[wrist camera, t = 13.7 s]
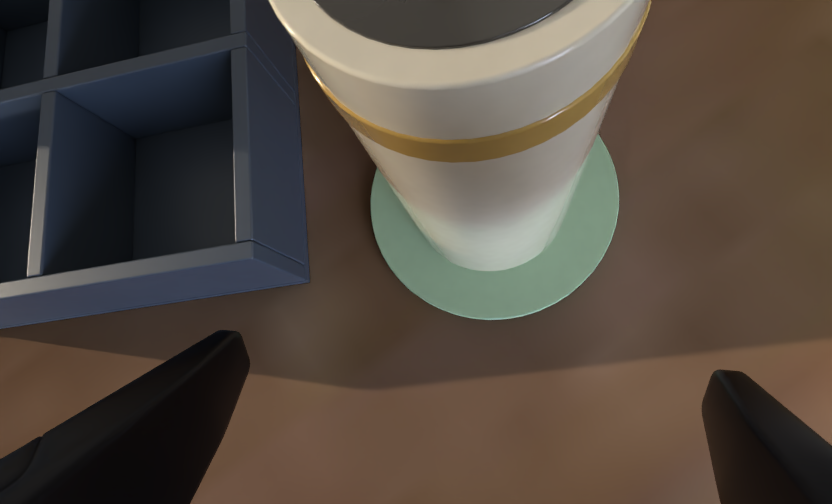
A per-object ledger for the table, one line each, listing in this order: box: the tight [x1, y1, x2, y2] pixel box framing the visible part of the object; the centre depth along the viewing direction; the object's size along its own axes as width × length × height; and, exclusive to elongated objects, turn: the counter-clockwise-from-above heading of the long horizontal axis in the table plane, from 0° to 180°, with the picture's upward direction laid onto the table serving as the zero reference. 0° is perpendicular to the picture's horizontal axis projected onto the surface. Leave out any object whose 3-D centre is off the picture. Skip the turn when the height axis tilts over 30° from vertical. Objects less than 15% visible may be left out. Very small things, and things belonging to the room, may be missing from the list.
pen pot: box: [268, 0, 652, 271], centre depth 12 cm, size 6×6×12 cm
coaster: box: [371, 135, 619, 320], centre depth 18 cm, size 9×9×1 cm
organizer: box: [0, 0, 310, 329], centre depth 20 cm, size 15×15×4 cm
